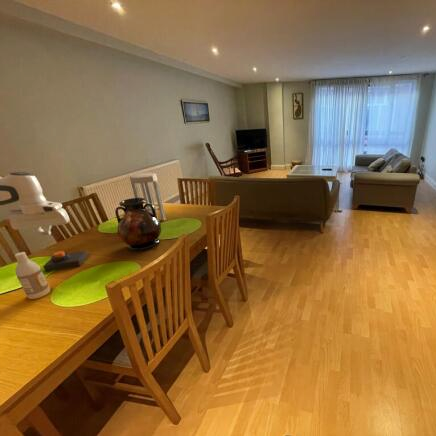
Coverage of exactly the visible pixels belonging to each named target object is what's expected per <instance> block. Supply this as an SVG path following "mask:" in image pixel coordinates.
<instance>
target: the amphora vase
mask: <svg viewBox="0 0 436 436" xmlns="http://www.w3.org/2000/svg"><path fill="white" fill-rule="evenodd" d="M145 202H146V199H145V198H144V197H140V198H135V197H131V198H126V199H123V200H121V201H119V203H118V204H119V206H117V207H116V208H115V210H114V212H115V218H116V220H117V223H118V225H117V235H118V238H119V240H121V241H122V243H124V244H125V245H127V249H128V250H130V251H132V252H143V251H148V250H151V249H153V248H155V247H156V246H158V245H159V243H160V238H159V237H160V235H161V233H162V225H161V222H160V220H159V218H158V219H157V217H156V213H155V209H154V206H153V205H152V204H145ZM146 206H150V207H151V208H152V210H153V214H152V213H151V212H149V211H148V210H146ZM119 210H122V211H123V215H121V216H120V214H119Z"/></svg>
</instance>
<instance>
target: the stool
mask: <svg viewBox="0 0 436 436" xmlns="http://www.w3.org/2000/svg"><path fill="white" fill-rule="evenodd" d="M129 181H130V185H131V188H132V192H133V195H134V198H141V194H140V190H139V187H138V184H139V185H140V188H141V191H142V196H143V198H145V199H146V202H145V203H144V205H145V204H152V205H153V206H154V209H155V213H156V217H157V219H158V220H159V216H158V212H159V215H160V220H161V221H166V220H167V218H166V214H165V208H164V204H163V199H162V195H161V191H160V186H159V182H158V177H157V174H156V173H154V172H142V173H136V174H132V175H129ZM151 183H152V184H153V189H154V194H155V198H156V203H155V199H154V195H153V190H152V186H151ZM146 210H148V211H149V212H151V213H152V214H153V210H152V208H151V207H150V206H146ZM157 211H158V212H157Z"/></svg>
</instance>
